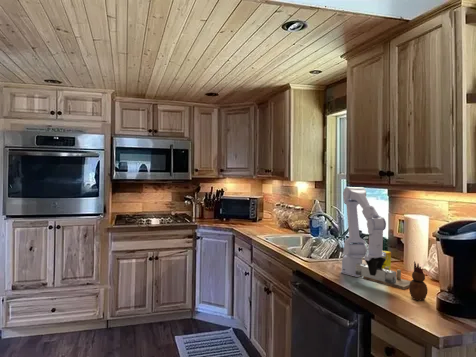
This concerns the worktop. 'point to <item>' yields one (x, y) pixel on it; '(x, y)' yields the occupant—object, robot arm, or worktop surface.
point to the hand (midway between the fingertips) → (374, 274)
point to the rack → (399, 282)
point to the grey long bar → (380, 273)
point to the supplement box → (387, 260)
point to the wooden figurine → (418, 284)
